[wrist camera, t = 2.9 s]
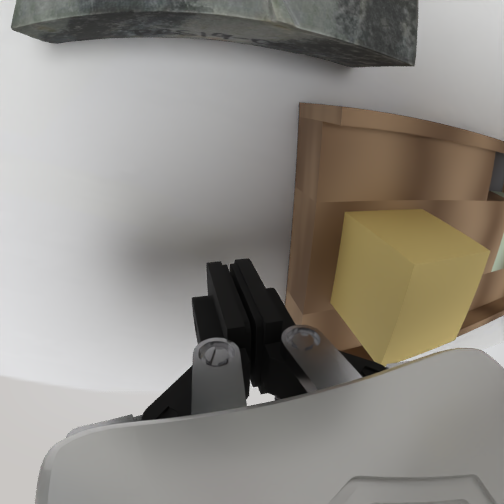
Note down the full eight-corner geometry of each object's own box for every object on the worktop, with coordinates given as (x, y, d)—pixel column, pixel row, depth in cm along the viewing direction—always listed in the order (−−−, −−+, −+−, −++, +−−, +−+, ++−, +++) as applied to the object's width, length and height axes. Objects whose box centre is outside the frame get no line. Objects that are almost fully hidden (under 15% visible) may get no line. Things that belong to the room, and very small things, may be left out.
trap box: (530, 150, 19) (567, 166, 15) (494, 286, 26) (522, 309, 22) (299, 102, 14) (349, 107, 10) (281, 342, 20) (306, 393, 16)
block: (422, 209, 15) (490, 250, 11) (402, 288, 18) (455, 339, 13) (344, 211, 14) (414, 264, 10) (330, 302, 16) (379, 368, 12)
